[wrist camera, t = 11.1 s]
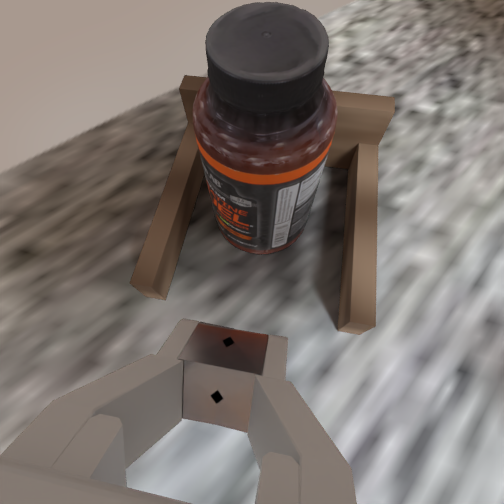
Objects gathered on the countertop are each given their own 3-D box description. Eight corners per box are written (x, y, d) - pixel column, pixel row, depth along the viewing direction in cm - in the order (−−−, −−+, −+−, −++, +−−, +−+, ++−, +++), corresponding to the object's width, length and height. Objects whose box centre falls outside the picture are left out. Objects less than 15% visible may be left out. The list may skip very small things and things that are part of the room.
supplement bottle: (197, 218, 20) (132, 37, 10) (259, 166, 22) (260, -37, 11) (264, 277, 18) (272, 132, 8) (325, 215, 20) (399, 28, 9)
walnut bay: (359, 334, 17) (397, 314, 12) (146, 296, 18) (107, 265, 13) (365, 158, 22) (394, 97, 17) (199, 137, 23) (184, 75, 18)
